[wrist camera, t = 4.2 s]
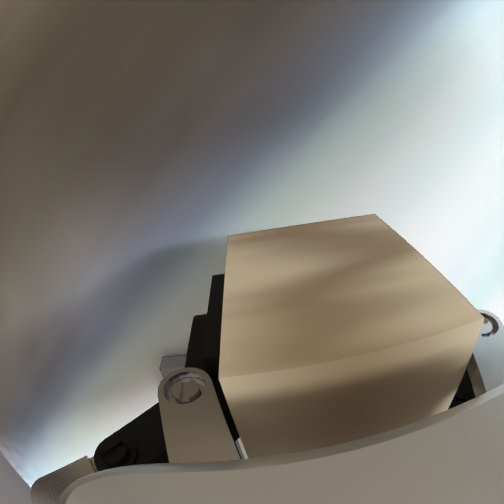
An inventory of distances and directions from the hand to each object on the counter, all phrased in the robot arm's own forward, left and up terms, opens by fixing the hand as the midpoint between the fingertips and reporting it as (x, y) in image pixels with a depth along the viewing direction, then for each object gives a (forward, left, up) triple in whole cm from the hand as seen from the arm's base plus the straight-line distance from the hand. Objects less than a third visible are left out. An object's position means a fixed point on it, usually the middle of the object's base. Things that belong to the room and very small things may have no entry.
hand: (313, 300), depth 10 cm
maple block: (0, 0, -1) cm, 1 cm away
